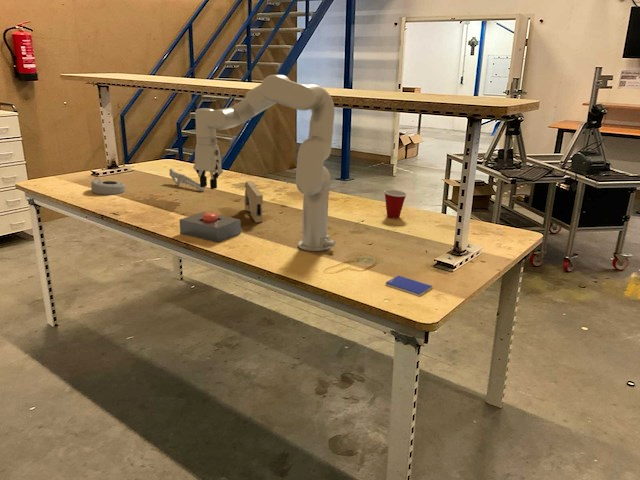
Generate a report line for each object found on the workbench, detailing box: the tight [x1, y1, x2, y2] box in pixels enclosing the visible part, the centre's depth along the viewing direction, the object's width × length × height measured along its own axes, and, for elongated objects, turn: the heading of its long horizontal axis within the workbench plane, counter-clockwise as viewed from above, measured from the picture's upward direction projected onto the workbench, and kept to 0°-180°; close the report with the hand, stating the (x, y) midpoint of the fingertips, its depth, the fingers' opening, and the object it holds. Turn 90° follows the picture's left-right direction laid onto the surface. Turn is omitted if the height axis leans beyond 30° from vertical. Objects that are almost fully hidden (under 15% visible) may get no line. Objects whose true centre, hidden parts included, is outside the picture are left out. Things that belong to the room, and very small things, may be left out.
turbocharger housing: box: [90, 177, 126, 196], centre depth 273 cm, size 17×6×15 cm
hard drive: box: [385, 275, 433, 297], centre depth 165 cm, size 2×8×12 cm
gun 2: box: [243, 180, 264, 223], centre depth 235 cm, size 24×3×15 cm, turn 21°
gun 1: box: [169, 168, 206, 192], centre depth 287 cm, size 2×30×8 cm, turn 50°
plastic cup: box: [383, 189, 408, 219], centre depth 240 cm, size 11×11×12 cm
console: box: [179, 211, 242, 243], centre depth 210 cm, size 20×14×6 cm
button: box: [202, 212, 218, 223], centre depth 208 cm, size 6×6×3 cm
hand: (208, 187), depth 204 cm, fingers open, 4 cm apart
